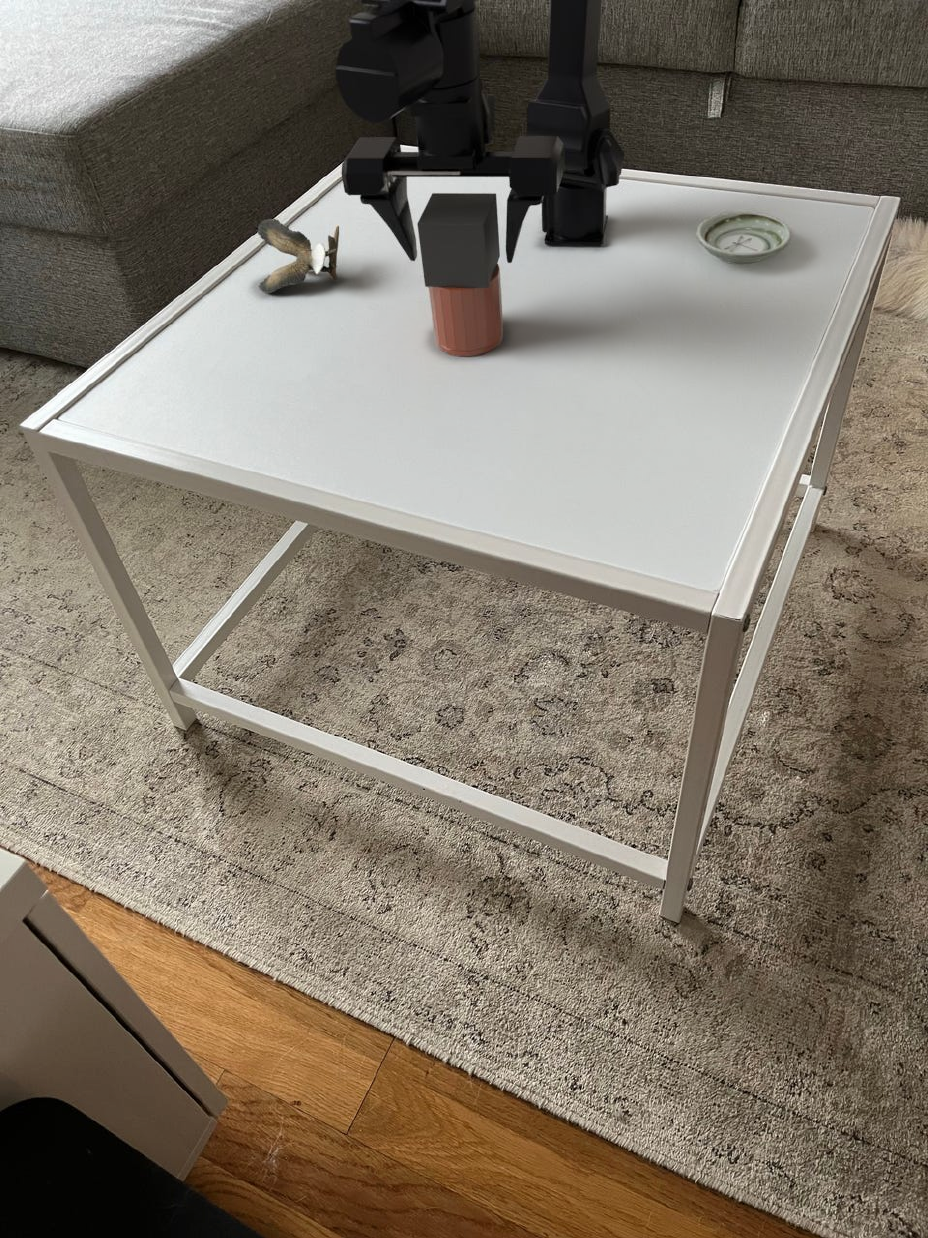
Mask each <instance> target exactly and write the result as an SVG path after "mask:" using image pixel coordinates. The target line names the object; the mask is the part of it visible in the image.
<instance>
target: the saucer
mask: <svg viewBox="0 0 928 1238" xmlns="http://www.w3.org/2000/svg"><path fill="white" fill-rule="evenodd" d="M695 234H696V239H697V241H698V243H699V244H700V245H701V246H702V247H703V248H704V249H705V250H706V251H707V252H708V253H709V254H711V255H712V256H714V257H716V258H718V259H720V260H721V261H723V262H726V263H728V264H734V265H749V264H750V265H751V264H754V263H757V262H759V261H760V262H761V261H763V260H766V259H769V258H772V257H773V256H775V255H776V254H778V253H779V252H781V251H782V250H784V249H785V248H787V246H788V245H789V244H790V242H791V240H792V237H793V236H792V229H791V228H790V227H789V225H788V224H787V223H786V222H785V221H783V220H782V219H780V218H778V217H776V216H774V215H771V214H768V213H763V212H758V211H749V210H748V211H747V210H737V211H736V210H735V211H727V212H722V213H718V214H715V215H712V216H710V217H707V218H706V219H704V220H703V221H702V222H701V223H700V224H699V225H698V226H697V228H696V233H695Z"/></svg>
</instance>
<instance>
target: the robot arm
mask: <svg viewBox="0 0 928 1238" xmlns="http://www.w3.org/2000/svg"><path fill="white" fill-rule="evenodd" d="M360 1H361V5H363V6H367V7H374V8H371V9H370V10H368V11H366V12H358V13H357V14H355V15H353V16H351V17H349V22H348V24H349V30H350V38H348V39H347V40H346V41H345V42H344V43H343V44H342V46H340V49H339V50H338V55H337V57H336V67H335V68H334V76H335V81H336V85H337V89H338V91H339V94H340V96H341V98H342V99H343V102H344V103H345V104H346V106H347V107H348V109H349V110H350V111H351V112H352V113H353V114H354V115H355V116H356V117H358V118H359V119H361V120H362V121H364V122H367V123H369V124H373V125H374V124H375V125H377V124H383V123H385V122H387V121H389V120H391V119H392V118H393V117H395V116H396V115H398V114H399V113H401V112H402V111H404V110H405V109H407V108H408V107H409V109H410V117H411V118H414V127H415V135H416V143H417V151H402V145H401V142H400V141H399V139H398V138H397V137H396V136H394V137H393V136H390V137H389V136H385V137H384V136H383V137H382V136H381V137H379V136H378V137H377V136H373V137H372V136H371V137H370V136H368V137H362V136H361V137H359V138H358V140H357V141H356V142H355V144H354V145H353V147H352V148H351V150H350V151H349V153H348V154H347V156H346V157H345V159H344V160H343V162H342V164H341V179H342V184H343V185H342V186H343V190H344V193H345V194H346V195H348V196H359V200H360V204H362V205H370V206H371V208H373V209H374V211H375V212H376V213H377V215H378V216H379V217H380V218H381V219H382V221H383V222H384V223H385V224H386V225H387V227H388V228H389V229H390V231H391V233H392V234H393V235H394V237H395V239H396V240H397V242H398V244H399V245H400V246H401V248H402V249H403V251H404V253H405V254H406V256H407V257H408V259H409V260H410V261H411V262H415V261H416V260H417V257H418V249H417V248H418V247H417V238H416V232H415V228H414V222H413V218H412V217H413V216H412V211H411V208H410V202H409V199H408V178H508V179H509V180H508V182H509V184H508V185H509V188H510V191H509V194H508V197H507V199H506V220H505V223H506V224H505V255H506V262H507V263H508V264H511V263H513V260H514V256H515V253H516V249H517V245H518V242H519V238H520V234H521V231H522V227H523V223H524V221H525V218H526V217H527V213H528V211H529V209H530V207H531V206H534V207H535V206H540V205H541V231H542V232H543V233H545V237H544V245H545V246H583V247H584V246H585V247H589V246H590V247H591V246H592V247H599V246H602V245H604V240H605V237H606V231H607V228H608V222H609V215H607V194H608V193H607V192H608V191H607V190H608V188H611V187H615V186H618V185H619V183H620V176H621V175H622V171H623V167H624V159H625V152H624V150H623V149H622V147H621V145H620V144H619V142H618V141H617V139H616V138H615V136H614V135H613V133H612V131H611V106H610V103H609V100H608V99H607V96H606V94H605V92H604V89H603V87H602V86H601V83H600V81H599V79H598V60H599V59H598V56H599V45H600V43H599V42H600V31H601V29H600V28H601V17H602V16H601V15H602V2H603V1H602V0H549V25H548V51H547V73H546V80H545V81H544V84H543V85H542V87H541V89H540V90H539V92H538V94H537V95H536V97H535V99H530V100H529V102H528V104H527V107H526V109H525V111H526V132H525V135H522V136H521V135H520V136H518V138H517V140H516V142H515V145H514V148H513V150H512V151H486V145H490V144H491V142H492V140H493V135H494V134H495V94H490V93H484V83H483V77H482V75H481V63H480V50H479V49H480V48H479V31H478V19H477V18H478V17H477V16H478V15H477V6H476V5H477V0H360Z"/></svg>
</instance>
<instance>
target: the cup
mask: <svg viewBox="0 0 928 1238" xmlns="http://www.w3.org/2000/svg"><path fill="white" fill-rule="evenodd" d="M428 292H429V302H430V309H431V317H432V325H433V333H434V340H435V345H436V346H437V347H438V349H439V350H441V351H442V352H444V353H445V354H448V355H451V356H455V357H475V356H479V355H483V354H486V353H488V352H490V351H492V350H494V349H496V348H497V347H498V346H499V345H500V344H501V343H502V341H503V339H504V317H503V302H502V300H503V299H502V285H501V270H500V266H499V264H498V263H497V265H496V268H495V271H494V274H493V277H492V279H491V282H490V285H489V288H460V287H428Z"/></svg>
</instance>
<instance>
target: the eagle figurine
mask: <svg viewBox="0 0 928 1238" xmlns="http://www.w3.org/2000/svg"><path fill="white" fill-rule="evenodd" d="M257 228H258V231H257V235H259V237H260V239H261V240H263V241H264V243H265V244H267V245H269V246H271V247H272V248H274V249H276V250H278V251H279V252H281V253H283V254H287V255H290V256H293V257H296V260H294V261H292V262H291V263H289V264H287V265H284V266H280V267H278V268H277V269H275V270H273V272H271V274H269V275H268V276H267V277H266V278H263V281H261V282H260V283H259V285H258V288H259V290H260V291H262V293H265V294H270V293H273V292H277V290H280V289H282V288H284V287H287V286H289V285H291V286H294V285H295V286H296V285H298V284H299V283H301V282H303V281H304V280H305V279H306V278H307V274H308V273H309V272H310V271H313V272H314V273H315V274H316V275H319V273H320V272H322V273H328V274H329V276H330V277H331V279H332V280H333V281H335V282H336V283H337V282H338V274H337V268H338V266H337V263H338V262H337V261H338V249H339V238H340V226H339V225H337V226H336V227H335V231H334V234H333V236H331V235H327V245H328V249H327V250H326V248H325V246H324V244H323V243H322V242H318V243H317V245H315V247H314V248H313V249H312V243H311V240H310V239H308V237H307V236H305V235H304V234H303V233H302V232H301V231H295V230H292V229H290V228H289V226H286V225H285V224H283V223H281V222H280V220H279V219H276V218H273V219H272V218H267V219H264V220H261V222H260V223H259V226H257ZM327 257H328V266H326V265H325V260H326V258H327Z"/></svg>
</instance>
